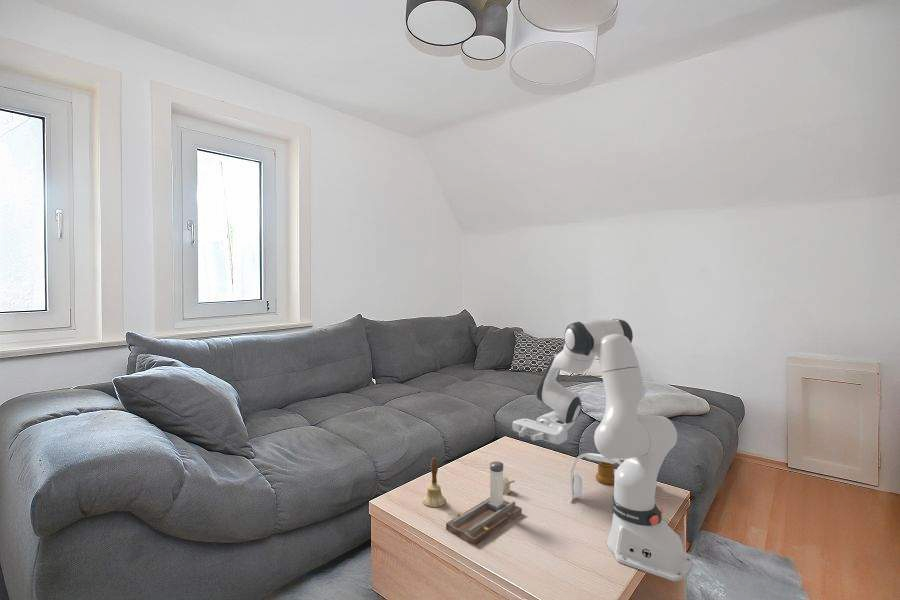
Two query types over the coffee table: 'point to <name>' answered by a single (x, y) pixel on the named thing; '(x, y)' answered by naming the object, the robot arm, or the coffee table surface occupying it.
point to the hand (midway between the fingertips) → (526, 436)
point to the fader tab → (496, 486)
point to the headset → (577, 481)
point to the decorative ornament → (506, 485)
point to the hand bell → (434, 489)
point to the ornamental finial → (605, 473)
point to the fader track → (482, 521)
